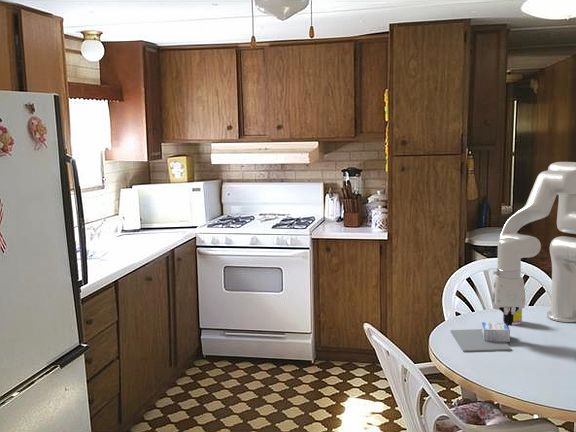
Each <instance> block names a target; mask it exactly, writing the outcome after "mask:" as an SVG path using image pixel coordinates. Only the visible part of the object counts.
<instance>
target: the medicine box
mask: <svg viewBox="0 0 576 432" xmlns="http://www.w3.org/2000/svg"><path fill="white" fill-rule="evenodd" d="M481 329H482V335H483V338H484V341H499V342H506V343H509V342H510V341H511V340H510V339H511V329H510V326H507V325H506V324H505V323H504V322H494V321H493V322H491V321H489V322H487V321H483V322H481Z"/></svg>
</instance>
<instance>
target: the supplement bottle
mask: <svg viewBox="0 0 576 432" xmlns="http://www.w3.org/2000/svg"><path fill="white" fill-rule="evenodd" d="M509 308H510V307H507V310H508V312H509ZM503 314H504V313H503V312H502V315H503ZM522 314H523V308H522V309H518V310H517V311H516V312H515V314H514V317H513V323H512V326H517V325H520V324H522V322H523V320H522V319H523V315H522Z"/></svg>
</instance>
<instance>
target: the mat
mask: <svg viewBox="0 0 576 432" xmlns="http://www.w3.org/2000/svg"><path fill="white" fill-rule="evenodd" d="M450 333H451V335H452V336H453V337H454V339H455V341H456V342H457V344H458V346H459V348H461V350H462V352H463V353H471V352H472V353H474V352H475V353H476V352H477V353H478V352H479V353H481V352H510V351H511V352H512V348H511V346H509V344H508V342H499V341H484V338H483V335H482V328H480V329H476V328H475V329H451V330H450Z"/></svg>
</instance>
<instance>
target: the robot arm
mask: <svg viewBox="0 0 576 432" xmlns="http://www.w3.org/2000/svg"><path fill="white" fill-rule="evenodd" d="M557 196H558V205H557V214H556V215H557V216H556V226H557V227H556V229H558V231H559V232H562V233H566V234H573V235H576V162H575V161H556V162H553V163H551V164H549V165H548V167H547V170H544V171H541V172H540V173H539V174H538V175H537V177H536V179H535V181H534V184H533V186H532V189H531V191H530V193H529V195H528V198H527V200H526V203H525V204H524V206H523V207H522V208H520V209H518V210H517V211H516V212H515V213H514V214H512V215H511V216H510V217H509V218H508V219H507V220H506V222H505V224H504V225H503V227H502V230H501V233H500V235H499V237H498V242H497V268H496V270H493V271H492V273H493V275H494V276H495V279H494V282H493V283H494V284H493V290H492V302H493V304H492V308H493V309H494V310H498V311H499V310H500V311H501V312H502V318H503V320H502V321H503V323H505V324H506V325H507V326H508V327H512V326H513V325H512V323H513V317H514V314H515V312H516V311H517V310H518V309H522V310H523V309H524V308H526V307H525V305H526V289H525V281H524V278H523V276H521V266H522V265H521V264H522V263H521V260H522V259H523V258H534V257H535V256H537V255H538V254H539V253H540V251H541V248H542V244H541V242H540V239H538V238H537V237H535V236H532V235H527V234H521V233H518V231H519V230H520V229H521V228H523V226H526V225H528V224H530V223H533V222H535V221H538V220H542V219H544V218H546V217H548V216H549V215H550V213H551V210H552V207H553V205H554V203H555V200H556V198H557ZM549 255H550V259H551V261H550V262H551V308H550V309H551V310H548V311H547V313H546V317H547V318H548V319H550V320H552V321H556V322H561V323H576V237H572V236H562V235H561V236H557V237H556V236H555V238H553V239H552V240H551V242H550V244H549ZM507 307H510V308H509V312H508V310H507ZM503 313H504V314H503Z"/></svg>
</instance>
